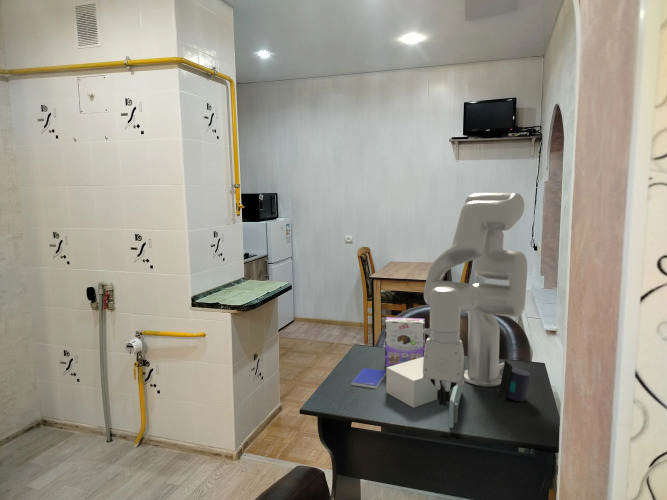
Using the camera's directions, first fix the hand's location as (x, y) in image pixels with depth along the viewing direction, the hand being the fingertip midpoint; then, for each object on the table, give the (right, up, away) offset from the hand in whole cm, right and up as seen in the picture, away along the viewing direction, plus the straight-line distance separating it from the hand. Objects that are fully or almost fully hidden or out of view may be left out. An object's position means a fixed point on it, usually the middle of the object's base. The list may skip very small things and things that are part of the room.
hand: (443, 403), depth 118 cm
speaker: (+25, -4, +16) cm, 30 cm away
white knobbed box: (-2, -3, +20) cm, 20 cm away
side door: (+6, -4, +8) cm, 11 cm away
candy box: (-3, -1, +42) cm, 43 cm away
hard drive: (-17, -3, +30) cm, 35 cm away
